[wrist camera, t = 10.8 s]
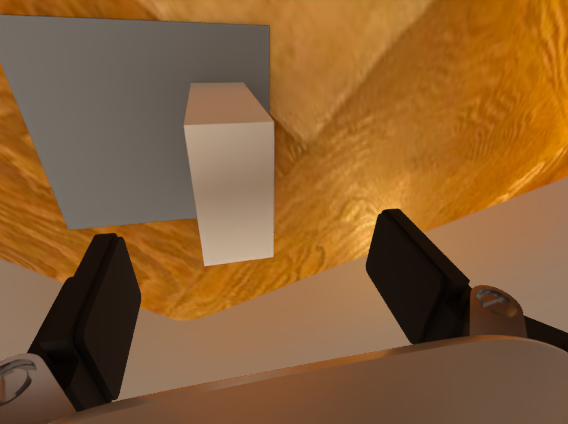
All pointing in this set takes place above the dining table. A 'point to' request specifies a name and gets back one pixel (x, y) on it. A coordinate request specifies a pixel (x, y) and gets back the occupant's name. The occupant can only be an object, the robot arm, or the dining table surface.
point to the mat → (122, 106)
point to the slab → (231, 171)
